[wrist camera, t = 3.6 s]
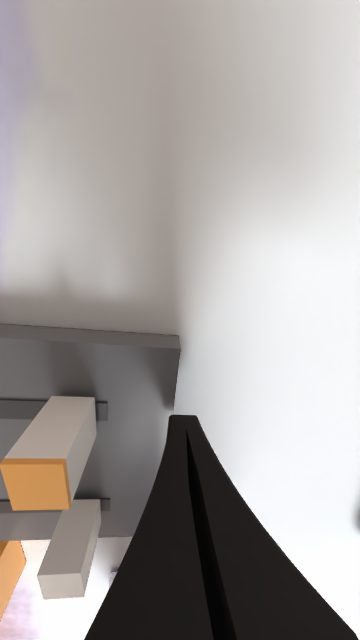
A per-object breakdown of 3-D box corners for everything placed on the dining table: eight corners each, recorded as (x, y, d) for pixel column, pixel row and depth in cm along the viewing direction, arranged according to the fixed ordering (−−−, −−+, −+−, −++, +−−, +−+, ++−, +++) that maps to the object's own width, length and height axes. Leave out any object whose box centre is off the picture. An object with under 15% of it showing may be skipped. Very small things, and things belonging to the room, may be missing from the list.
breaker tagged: (94, 397, 10) (63, 464, 7) (96, 434, 11) (69, 509, 8) (51, 395, 9) (-2, 464, 6) (57, 434, 10) (12, 510, 7)
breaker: (99, 499, 12) (80, 573, 10) (101, 522, 13) (83, 596, 10) (66, 499, 12) (37, 575, 9) (69, 523, 13) (43, 599, 10)
